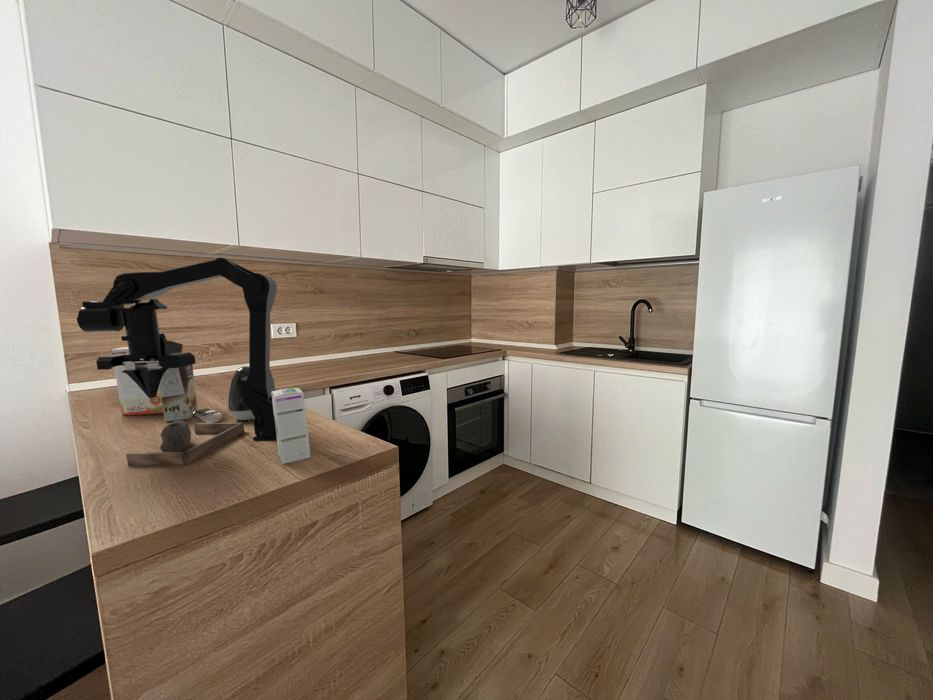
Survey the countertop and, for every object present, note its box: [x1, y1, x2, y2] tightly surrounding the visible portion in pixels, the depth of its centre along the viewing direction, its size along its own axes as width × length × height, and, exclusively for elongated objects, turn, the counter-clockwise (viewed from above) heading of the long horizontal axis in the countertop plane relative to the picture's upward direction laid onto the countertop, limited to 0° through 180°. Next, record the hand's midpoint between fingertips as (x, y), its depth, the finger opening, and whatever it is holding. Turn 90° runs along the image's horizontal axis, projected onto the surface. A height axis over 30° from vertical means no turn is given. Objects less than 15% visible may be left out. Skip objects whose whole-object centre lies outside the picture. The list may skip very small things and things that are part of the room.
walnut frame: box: [125, 422, 245, 466], centre depth 88 cm, size 13×19×2 cm, turn 178°
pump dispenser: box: [227, 366, 255, 422], centre depth 109 cm, size 10×10×15 cm
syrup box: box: [272, 387, 311, 465], centre depth 80 cm, size 6×6×14 cm
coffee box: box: [160, 364, 199, 423], centre depth 112 cm, size 9×6×16 cm
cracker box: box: [111, 346, 164, 416], centre depth 118 cm, size 14×6×21 cm, turn 92°
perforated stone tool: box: [159, 420, 192, 452], centre depth 86 cm, size 15×5×7 cm, turn 31°
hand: (152, 397), depth 87 cm, fingers closed
